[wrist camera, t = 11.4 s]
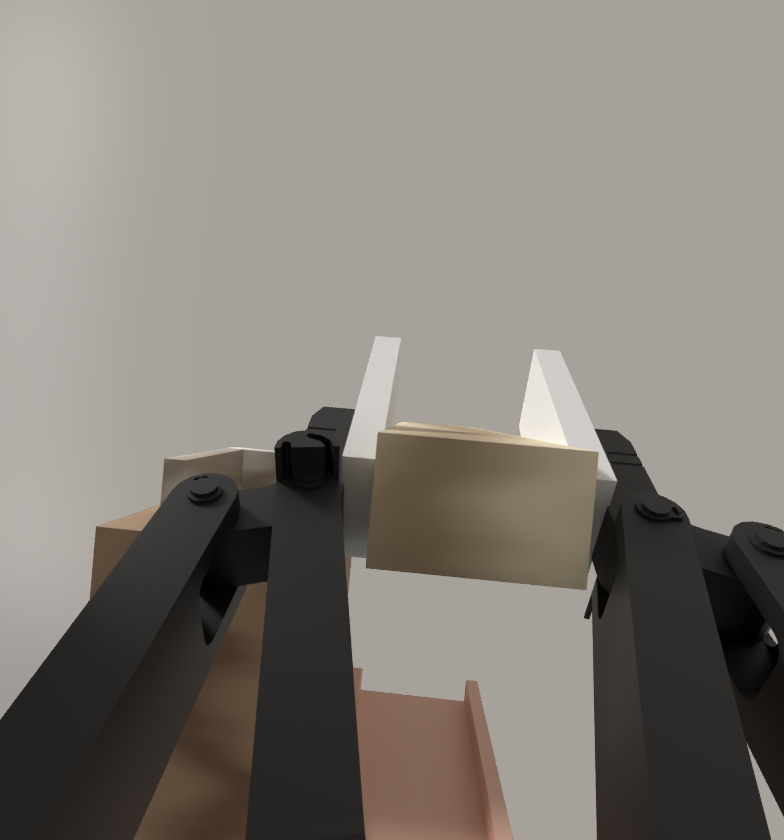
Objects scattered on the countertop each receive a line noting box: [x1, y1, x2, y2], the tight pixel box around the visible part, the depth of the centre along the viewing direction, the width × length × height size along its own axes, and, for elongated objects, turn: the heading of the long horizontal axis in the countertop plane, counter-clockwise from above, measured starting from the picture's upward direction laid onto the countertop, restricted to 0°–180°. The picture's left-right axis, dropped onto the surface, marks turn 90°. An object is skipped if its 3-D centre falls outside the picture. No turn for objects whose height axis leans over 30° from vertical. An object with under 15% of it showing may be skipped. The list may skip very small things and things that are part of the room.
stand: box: [90, 447, 351, 840], centre depth 30 cm, size 9×14×32 cm, turn 178°
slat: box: [366, 422, 599, 590], centre depth 21 cm, size 4×20×2 cm, turn 178°
